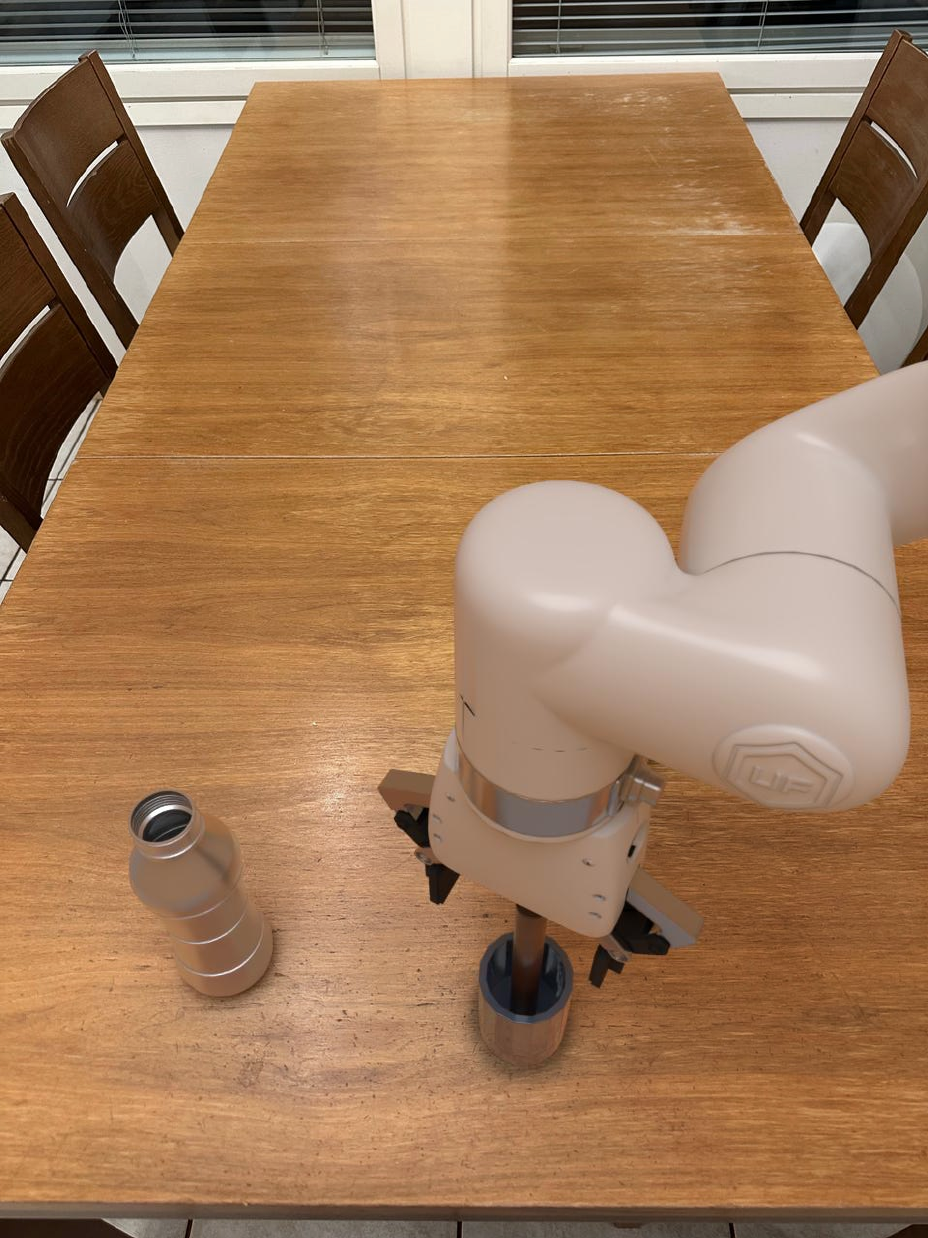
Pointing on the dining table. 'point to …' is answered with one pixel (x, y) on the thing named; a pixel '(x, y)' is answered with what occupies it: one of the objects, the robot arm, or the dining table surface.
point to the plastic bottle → (198, 893)
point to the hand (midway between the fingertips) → (524, 921)
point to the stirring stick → (526, 960)
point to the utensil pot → (520, 1033)
